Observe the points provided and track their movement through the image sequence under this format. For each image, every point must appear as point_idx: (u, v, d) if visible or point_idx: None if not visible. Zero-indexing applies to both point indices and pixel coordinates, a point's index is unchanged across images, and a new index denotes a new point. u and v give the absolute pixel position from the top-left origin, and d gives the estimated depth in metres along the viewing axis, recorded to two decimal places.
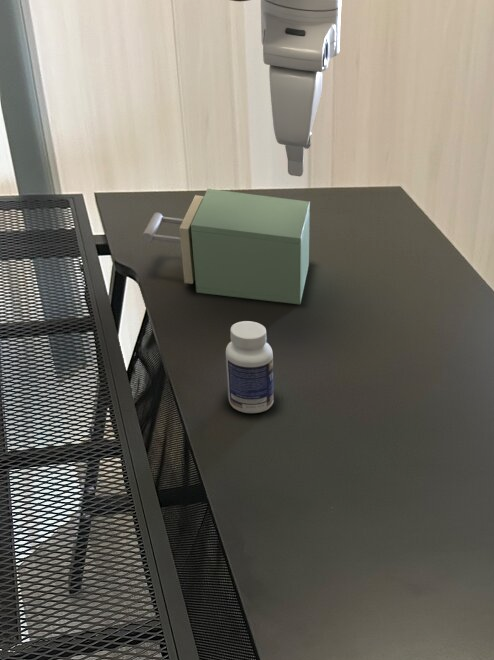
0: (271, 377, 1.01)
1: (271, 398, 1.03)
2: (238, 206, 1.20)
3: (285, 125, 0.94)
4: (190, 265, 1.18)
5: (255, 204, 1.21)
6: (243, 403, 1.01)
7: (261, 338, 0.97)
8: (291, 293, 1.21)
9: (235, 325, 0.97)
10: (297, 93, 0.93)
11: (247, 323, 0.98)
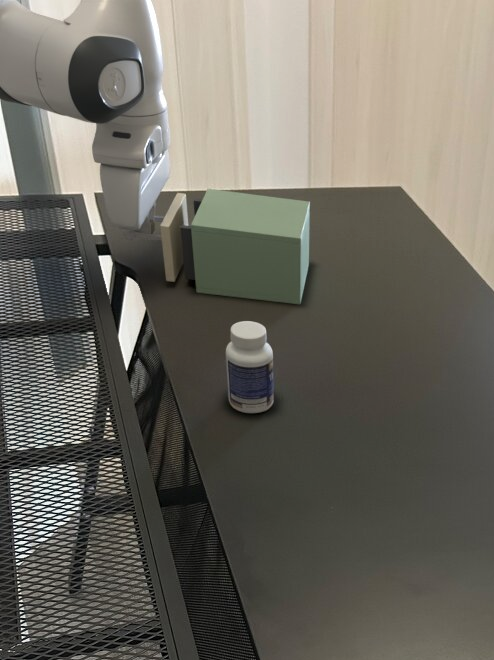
0: (271, 377, 1.01)
1: (271, 398, 1.03)
2: (238, 206, 1.20)
3: (117, 212, 1.09)
4: (171, 263, 1.18)
5: (255, 204, 1.21)
6: (243, 403, 1.01)
7: (261, 338, 0.97)
8: (291, 293, 1.21)
9: (235, 325, 0.97)
10: (124, 186, 1.07)
11: (247, 323, 0.98)
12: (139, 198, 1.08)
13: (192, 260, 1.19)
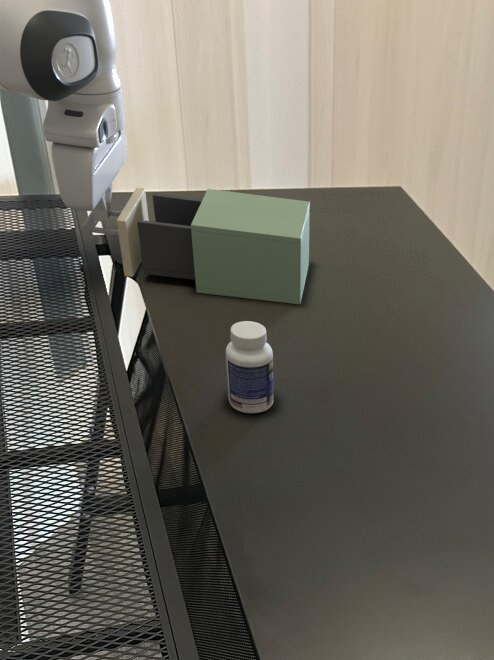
0: (271, 377, 1.01)
1: (271, 398, 1.03)
2: (238, 206, 1.20)
3: (70, 193, 1.07)
4: (129, 258, 1.18)
5: (255, 204, 1.21)
6: (243, 403, 1.01)
7: (261, 338, 0.97)
8: (291, 293, 1.21)
9: (235, 325, 0.97)
10: (76, 166, 1.05)
11: (247, 323, 0.98)
12: (92, 178, 1.07)
13: (150, 255, 1.18)
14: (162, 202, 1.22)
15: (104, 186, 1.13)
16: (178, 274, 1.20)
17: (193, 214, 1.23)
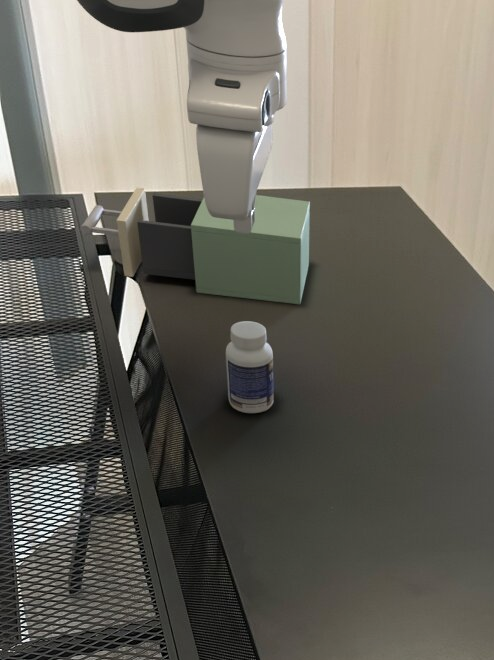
0: (271, 377, 1.01)
1: (271, 398, 1.03)
2: None
3: (218, 195, 0.77)
4: (129, 258, 1.18)
5: (255, 204, 1.21)
6: (243, 403, 1.01)
7: (261, 338, 0.97)
8: (291, 293, 1.21)
9: (235, 325, 0.97)
10: (230, 158, 0.75)
11: (247, 323, 0.98)
12: (250, 174, 0.76)
13: (150, 255, 1.18)
14: (162, 202, 1.22)
15: (255, 186, 0.83)
16: (178, 274, 1.20)
17: (193, 214, 1.23)
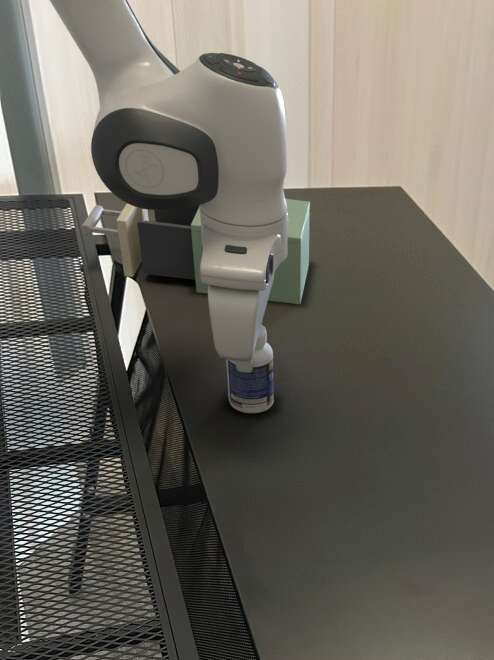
0: (271, 377, 1.01)
1: (271, 398, 1.03)
2: None
3: (226, 343, 0.87)
4: (129, 258, 1.18)
5: None
6: (243, 403, 1.01)
7: (261, 338, 0.97)
8: (291, 293, 1.21)
9: None
10: (238, 313, 0.85)
11: None
12: (255, 325, 0.87)
13: (150, 255, 1.18)
14: None
15: (259, 325, 0.93)
16: (178, 274, 1.20)
17: (193, 214, 1.23)
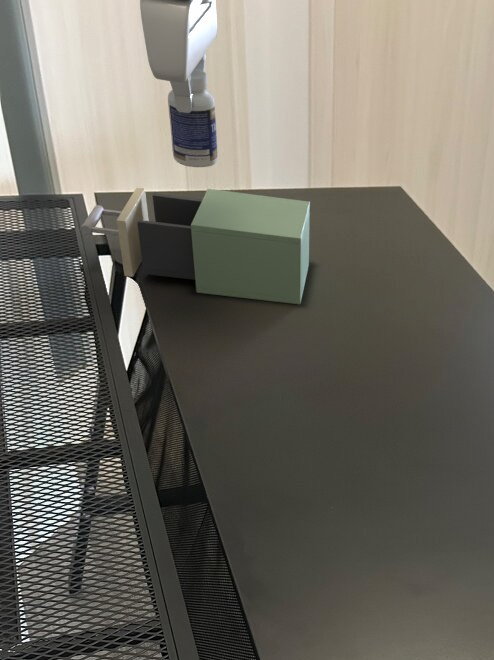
0: (213, 128, 1.03)
1: (214, 154, 1.05)
2: (238, 206, 1.20)
3: (160, 57, 0.90)
4: (129, 258, 1.18)
5: (255, 204, 1.21)
6: (186, 155, 1.03)
7: (201, 80, 0.99)
8: (291, 293, 1.21)
9: None
10: (169, 22, 0.88)
11: None
12: (187, 39, 0.89)
13: (150, 255, 1.18)
14: (162, 202, 1.22)
15: (196, 57, 0.95)
16: (178, 274, 1.20)
17: (193, 214, 1.23)
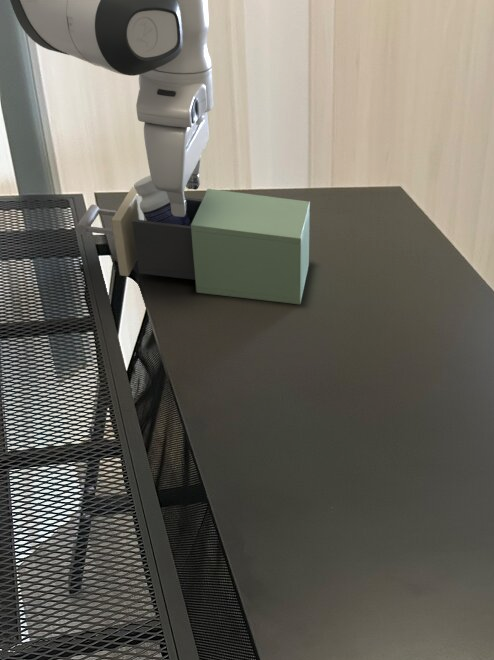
0: None
1: None
2: (238, 206, 1.20)
3: (160, 174, 1.06)
4: (124, 257, 1.17)
5: (255, 204, 1.21)
6: None
7: None
8: (291, 293, 1.21)
9: (137, 182, 1.17)
10: (169, 146, 1.04)
11: (146, 177, 1.17)
12: (184, 159, 1.05)
13: (145, 254, 1.18)
14: None
15: (191, 168, 1.11)
16: (173, 274, 1.20)
17: (189, 213, 1.23)
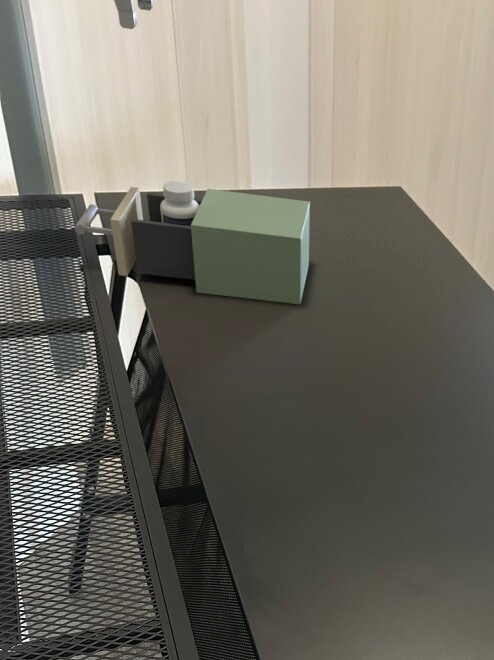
0: None
1: None
2: (238, 206, 1.20)
3: None
4: (123, 257, 1.17)
5: (255, 204, 1.21)
6: None
7: (189, 193, 1.16)
8: (291, 293, 1.21)
9: (167, 184, 1.17)
10: None
11: (176, 182, 1.17)
12: None
13: (144, 254, 1.18)
14: (156, 201, 1.22)
15: None
16: (172, 274, 1.20)
17: None
